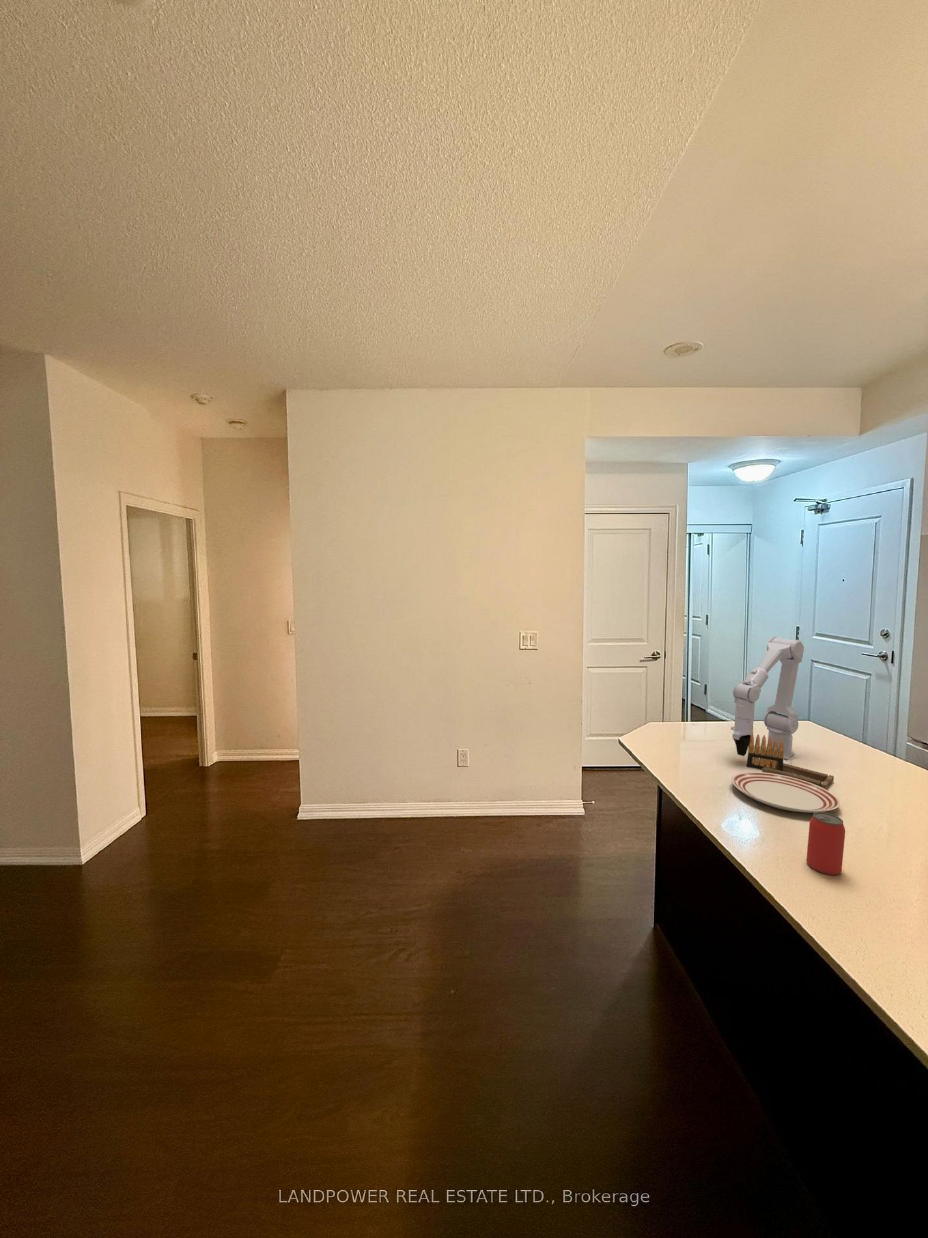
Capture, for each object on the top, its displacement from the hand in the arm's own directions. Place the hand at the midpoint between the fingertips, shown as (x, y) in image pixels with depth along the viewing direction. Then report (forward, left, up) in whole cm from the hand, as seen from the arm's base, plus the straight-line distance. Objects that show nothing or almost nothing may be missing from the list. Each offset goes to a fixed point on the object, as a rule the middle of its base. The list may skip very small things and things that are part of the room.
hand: (741, 754), depth 175 cm
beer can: (+55, +35, -3) cm, 65 cm away
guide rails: (0, +16, -3) cm, 17 cm away
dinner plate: (+21, +18, -3) cm, 28 cm away
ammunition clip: (0, +8, -3) cm, 8 cm away
